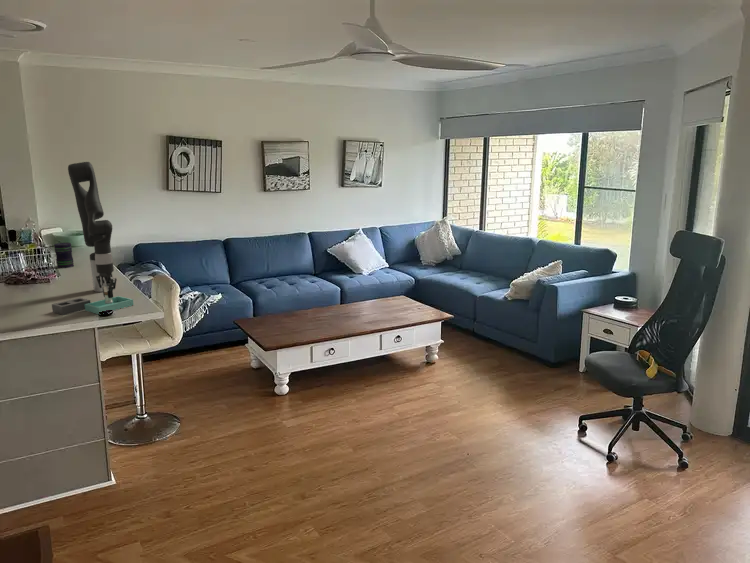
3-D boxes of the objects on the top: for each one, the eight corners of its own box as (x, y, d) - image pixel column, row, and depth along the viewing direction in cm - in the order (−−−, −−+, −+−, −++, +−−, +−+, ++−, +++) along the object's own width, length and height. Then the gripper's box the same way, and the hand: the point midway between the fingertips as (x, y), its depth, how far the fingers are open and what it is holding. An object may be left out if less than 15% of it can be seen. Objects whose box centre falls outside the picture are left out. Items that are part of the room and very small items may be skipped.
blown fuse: (110, 302, 293) (107, 282, 291) (114, 302, 291) (112, 282, 289) (103, 303, 290) (101, 283, 288) (107, 304, 288) (105, 284, 286)
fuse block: (80, 305, 296) (79, 297, 296) (91, 308, 292) (90, 300, 291) (52, 312, 285) (51, 304, 284) (63, 315, 280) (61, 306, 279)
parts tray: (119, 302, 302) (118, 296, 301) (133, 305, 295) (133, 299, 295) (85, 310, 287) (84, 304, 287) (99, 314, 281) (98, 308, 280)
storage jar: (57, 266, 391) (54, 243, 387) (74, 264, 395) (71, 242, 391) (56, 268, 382) (53, 245, 378) (73, 267, 386) (70, 244, 382)
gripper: (120, 262, 285) (124, 297, 289) (103, 259, 293) (107, 293, 297) (105, 265, 279) (109, 301, 283) (88, 262, 287) (92, 297, 291)
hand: (108, 297), depth 290 cm, fingers closed on blown fuse, 3 cm apart
